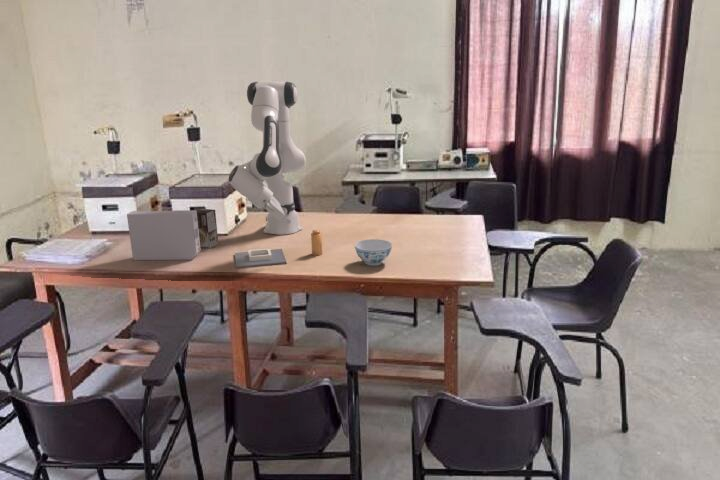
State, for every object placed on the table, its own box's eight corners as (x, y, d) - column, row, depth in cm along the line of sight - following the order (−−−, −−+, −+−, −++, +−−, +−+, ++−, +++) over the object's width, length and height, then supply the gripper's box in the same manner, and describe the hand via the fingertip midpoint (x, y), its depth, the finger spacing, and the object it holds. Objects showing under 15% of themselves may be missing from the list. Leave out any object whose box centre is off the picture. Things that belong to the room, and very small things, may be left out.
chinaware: (357, 256, 245) (356, 239, 243) (393, 257, 244) (393, 239, 242) (352, 268, 231) (352, 250, 229) (391, 269, 229) (391, 250, 227)
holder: (234, 254, 251) (234, 248, 250) (281, 250, 255) (281, 244, 255) (236, 268, 234) (235, 261, 233) (286, 263, 239) (286, 257, 238)
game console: (138, 256, 252) (132, 210, 246) (201, 255, 251) (196, 210, 246) (132, 260, 247) (126, 214, 241) (197, 259, 246) (192, 213, 240)
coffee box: (219, 244, 266) (215, 209, 262) (210, 248, 261) (206, 212, 256) (203, 242, 270) (199, 207, 265) (193, 246, 264) (189, 211, 260)
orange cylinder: (311, 252, 252) (310, 229, 249) (321, 251, 252) (320, 229, 250) (312, 256, 247) (311, 232, 244) (323, 255, 248) (322, 231, 245)
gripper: (270, 197, 228) (296, 220, 233) (266, 187, 247) (290, 208, 252) (259, 209, 228) (286, 232, 233) (256, 198, 248) (281, 219, 252)
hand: (288, 219), depth 243 cm, fingers open, 8 cm apart
